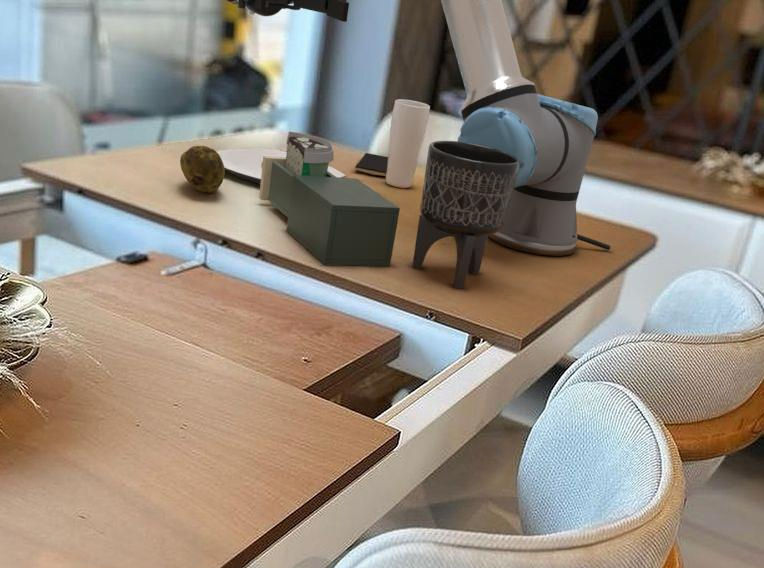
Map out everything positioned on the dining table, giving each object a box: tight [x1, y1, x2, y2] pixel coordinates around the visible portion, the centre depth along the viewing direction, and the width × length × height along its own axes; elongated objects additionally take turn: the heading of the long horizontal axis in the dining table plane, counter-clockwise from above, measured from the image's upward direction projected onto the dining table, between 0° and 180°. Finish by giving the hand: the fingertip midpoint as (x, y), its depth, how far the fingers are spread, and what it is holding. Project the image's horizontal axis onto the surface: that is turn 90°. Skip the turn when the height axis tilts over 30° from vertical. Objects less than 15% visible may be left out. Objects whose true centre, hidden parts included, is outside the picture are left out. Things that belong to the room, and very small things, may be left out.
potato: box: [179, 145, 226, 193], centre depth 166 cm, size 8×13×8 cm, turn 174°
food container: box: [285, 131, 335, 177], centre depth 161 cm, size 12×6×10 cm, turn 16°
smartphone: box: [354, 152, 388, 177], centre depth 204 cm, size 7×1×15 cm
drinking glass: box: [385, 98, 431, 189], centre depth 192 cm, size 7×7×15 cm
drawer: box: [258, 156, 335, 218], centre depth 164 cm, size 20×9×7 cm, turn 23°
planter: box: [412, 140, 520, 290], centre depth 145 cm, size 13×13×18 cm
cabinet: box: [286, 175, 401, 267], centre depth 151 cm, size 16×11×9 cm
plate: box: [215, 148, 347, 185], centre depth 186 cm, size 23×23×2 cm
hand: (305, 6), depth 155 cm, fingers open, 13 cm apart
